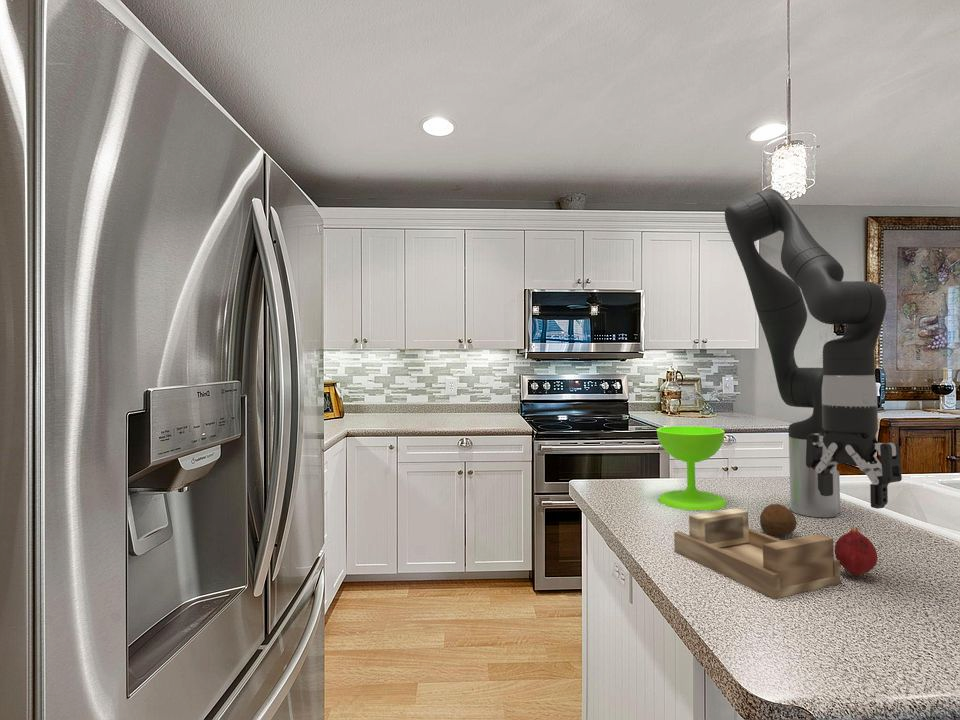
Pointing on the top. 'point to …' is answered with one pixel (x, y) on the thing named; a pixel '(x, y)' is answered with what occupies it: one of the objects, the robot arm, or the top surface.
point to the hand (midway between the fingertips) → (850, 501)
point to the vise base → (769, 562)
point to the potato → (777, 520)
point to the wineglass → (691, 463)
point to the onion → (855, 552)
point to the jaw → (720, 527)
